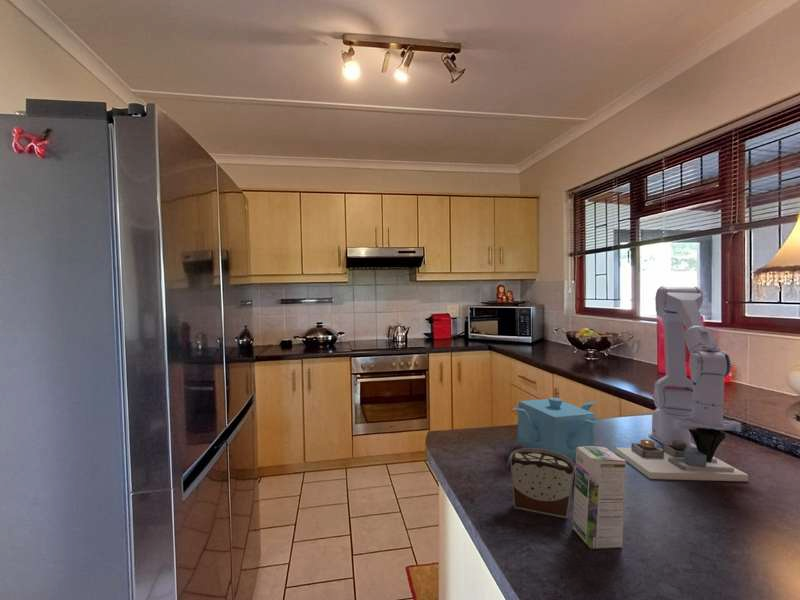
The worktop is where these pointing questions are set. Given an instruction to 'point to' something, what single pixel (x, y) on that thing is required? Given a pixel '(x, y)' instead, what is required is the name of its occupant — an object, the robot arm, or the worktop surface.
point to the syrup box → (599, 497)
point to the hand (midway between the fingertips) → (705, 460)
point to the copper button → (647, 445)
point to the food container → (541, 481)
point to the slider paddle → (694, 457)
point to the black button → (679, 445)
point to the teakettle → (555, 425)
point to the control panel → (677, 465)
